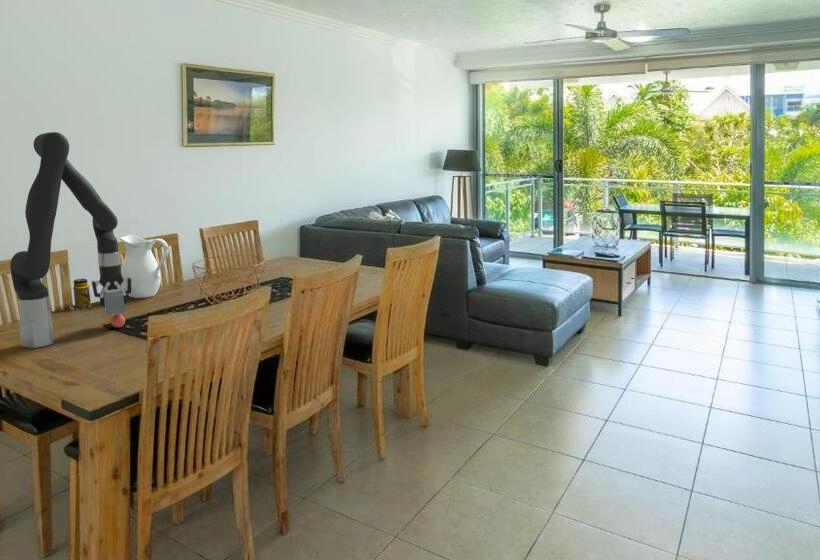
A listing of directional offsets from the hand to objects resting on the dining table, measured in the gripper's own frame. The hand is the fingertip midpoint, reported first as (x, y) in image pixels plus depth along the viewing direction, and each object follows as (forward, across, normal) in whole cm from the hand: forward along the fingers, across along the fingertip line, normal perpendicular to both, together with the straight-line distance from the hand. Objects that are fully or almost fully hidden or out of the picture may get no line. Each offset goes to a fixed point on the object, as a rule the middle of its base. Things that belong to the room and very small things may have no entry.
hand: (114, 305), depth 241 cm
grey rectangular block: (+2, 0, 0) cm, 2 cm away
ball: (+6, +1, -2) cm, 6 cm away
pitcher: (+9, +17, +45) cm, 49 cm away
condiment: (+9, -11, +38) cm, 41 cm away
